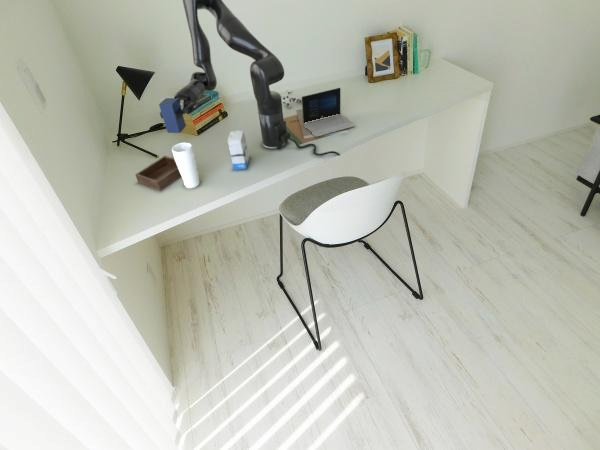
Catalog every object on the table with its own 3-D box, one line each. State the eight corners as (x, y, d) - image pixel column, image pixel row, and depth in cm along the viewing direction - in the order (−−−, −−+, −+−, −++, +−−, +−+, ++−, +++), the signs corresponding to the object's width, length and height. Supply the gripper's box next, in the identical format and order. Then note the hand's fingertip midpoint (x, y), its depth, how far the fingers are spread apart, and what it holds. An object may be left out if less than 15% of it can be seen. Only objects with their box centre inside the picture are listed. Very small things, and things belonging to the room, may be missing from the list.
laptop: (315, 138, 161) (314, 107, 153) (303, 126, 170) (301, 96, 162) (354, 127, 166) (355, 97, 158) (340, 116, 175) (340, 87, 167)
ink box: (246, 169, 146) (241, 141, 139) (232, 170, 147) (227, 141, 139) (249, 157, 153) (244, 129, 145) (236, 158, 153) (231, 130, 146)
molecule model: (306, 108, 188) (306, 90, 187) (287, 107, 181) (287, 88, 179) (298, 109, 193) (298, 92, 191) (278, 108, 186) (278, 90, 184)
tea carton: (186, 126, 150) (178, 98, 143) (179, 133, 146) (171, 104, 139) (174, 125, 151) (165, 98, 144) (167, 132, 147) (158, 104, 140)
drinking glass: (184, 180, 144) (173, 143, 134) (203, 178, 144) (193, 141, 134) (181, 191, 138) (169, 153, 129) (201, 189, 139) (190, 151, 129)
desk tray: (189, 170, 149) (187, 162, 146) (160, 190, 139) (157, 182, 137) (167, 163, 154) (164, 155, 151) (138, 182, 144) (135, 174, 142)
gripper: (168, 87, 154) (147, 105, 142) (202, 87, 151) (184, 106, 139) (173, 105, 159) (153, 125, 146) (207, 106, 156) (189, 126, 144)
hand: (168, 116), depth 143 cm, fingers closed on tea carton, 5 cm apart
